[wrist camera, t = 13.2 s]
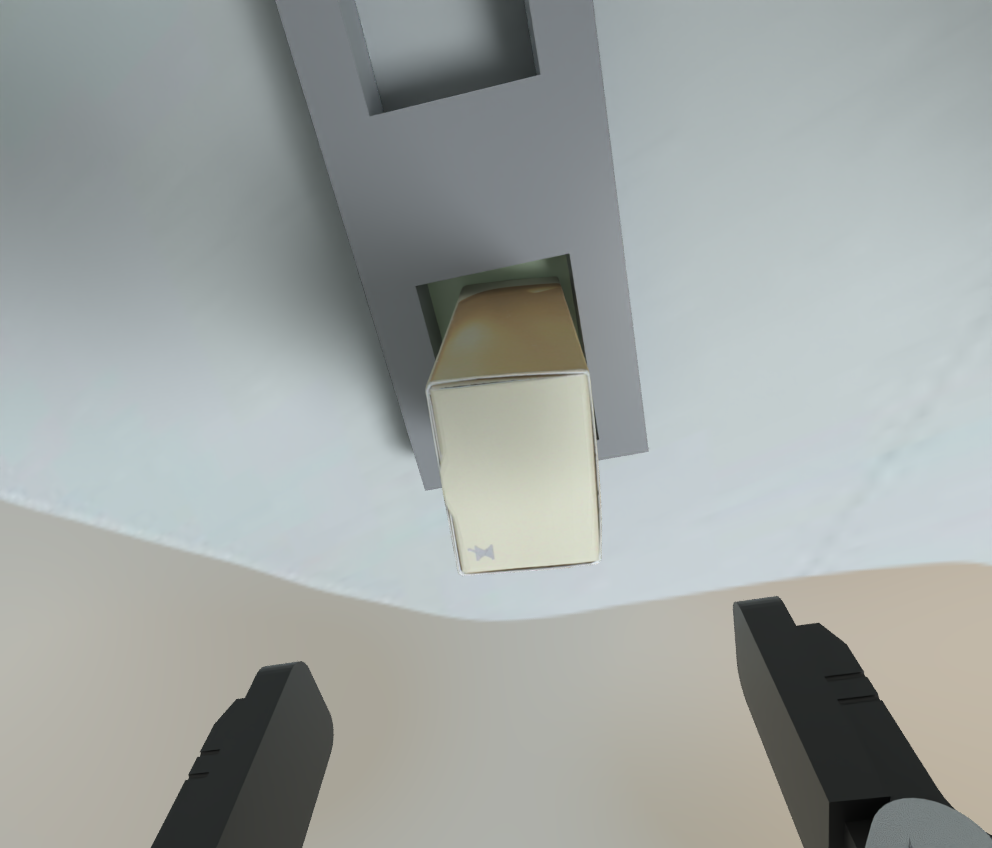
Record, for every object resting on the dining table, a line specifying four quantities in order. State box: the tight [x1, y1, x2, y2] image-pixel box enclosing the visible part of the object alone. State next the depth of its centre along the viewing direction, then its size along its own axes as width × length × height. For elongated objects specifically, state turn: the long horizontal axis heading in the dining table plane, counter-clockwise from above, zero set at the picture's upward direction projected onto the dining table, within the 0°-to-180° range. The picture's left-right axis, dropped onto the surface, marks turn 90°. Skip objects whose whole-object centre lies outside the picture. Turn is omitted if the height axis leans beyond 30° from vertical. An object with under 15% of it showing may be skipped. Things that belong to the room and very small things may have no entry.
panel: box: [275, 0, 649, 491], centre depth 24 cm, size 10×24×3 cm, turn 12°
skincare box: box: [425, 276, 602, 576], centre depth 22 cm, size 6×4×12 cm
